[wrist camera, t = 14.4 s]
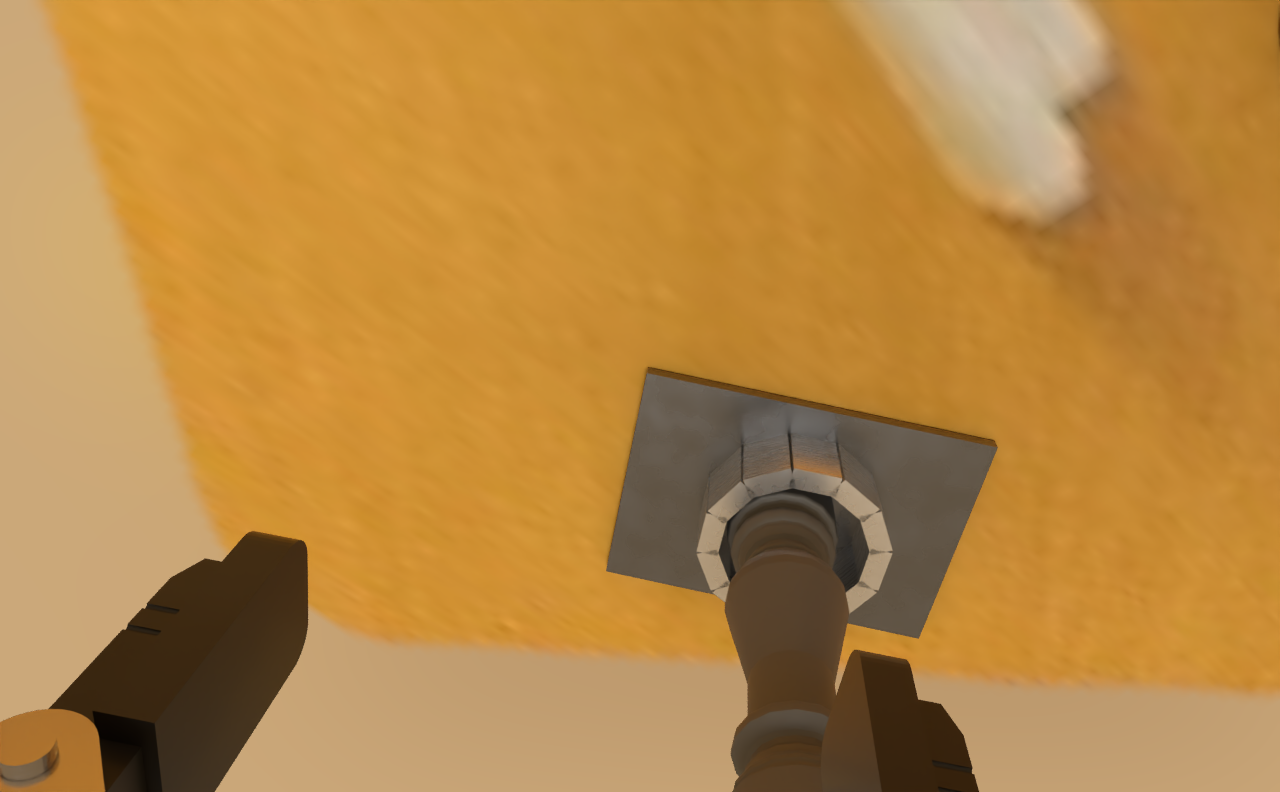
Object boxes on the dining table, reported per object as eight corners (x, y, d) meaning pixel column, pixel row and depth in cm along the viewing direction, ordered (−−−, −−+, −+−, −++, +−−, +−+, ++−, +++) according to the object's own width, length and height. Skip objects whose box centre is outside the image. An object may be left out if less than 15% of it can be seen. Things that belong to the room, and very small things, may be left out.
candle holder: (780, 567, 56) (802, 975, 34) (706, 507, 55) (677, 888, 32) (855, 507, 54) (933, 902, 31) (780, 442, 52) (805, 805, 30)
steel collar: (994, 440, 52) (1016, 484, 47) (916, 630, 58) (930, 684, 54) (648, 367, 52) (639, 404, 48) (607, 563, 58) (596, 612, 54)
